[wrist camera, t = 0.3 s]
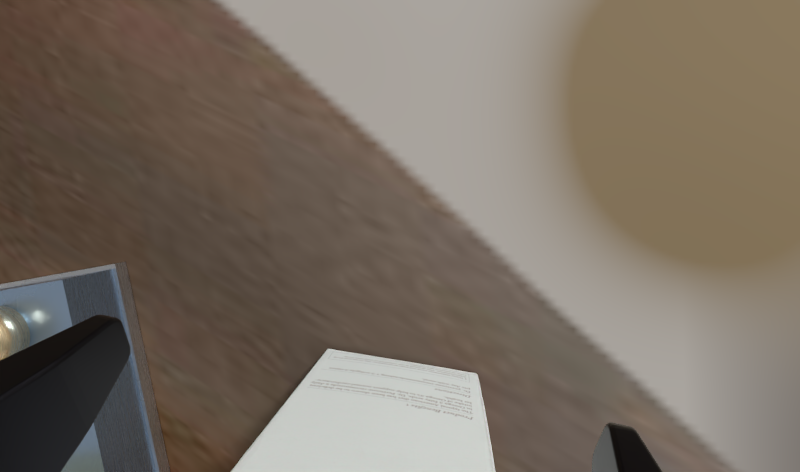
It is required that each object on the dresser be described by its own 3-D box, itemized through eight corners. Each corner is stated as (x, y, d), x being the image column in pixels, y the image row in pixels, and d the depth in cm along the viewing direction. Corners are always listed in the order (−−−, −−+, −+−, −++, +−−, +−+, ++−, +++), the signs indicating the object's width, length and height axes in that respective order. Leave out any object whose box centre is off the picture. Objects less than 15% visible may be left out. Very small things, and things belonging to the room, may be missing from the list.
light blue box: (192, 579, 26) (124, 680, 21) (73, 591, 27) (-24, 692, 21) (125, 261, 25) (35, 280, 20) (3, 283, 26) (-117, 307, 21)
